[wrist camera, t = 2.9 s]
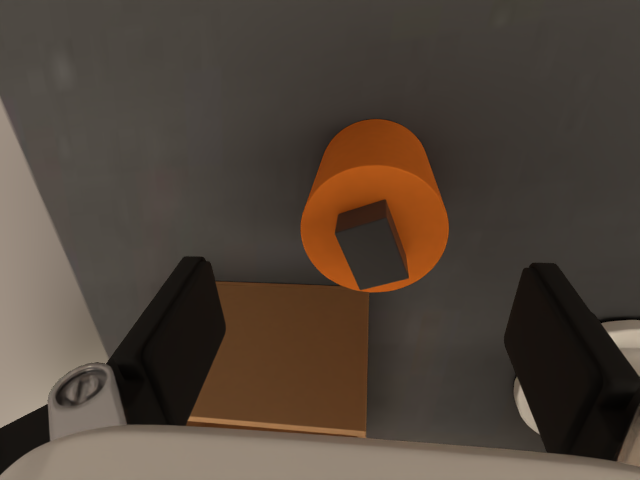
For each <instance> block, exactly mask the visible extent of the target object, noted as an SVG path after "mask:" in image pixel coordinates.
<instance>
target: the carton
mask: <svg viewBox="0 0 640 480" xmlns="http://www.w3.org/2000/svg"><path fill="white" fill-rule="evenodd" d="M215 283H216V287H217V291H218V295H219V299H220V303H221V307H222V311H223V315H224V319H225V323H226V332H225V335H224V338H223V340H222V342H221V345H220V347H219V349H218V352H217V354H216V356H215V359H214V361H213V363H212V366H211V368H210V370H209V373H208V375H207V377H206V380H205V382H204V384H203V387H202V389H201V391H200V394H199V396H198V398H197V401H196V403H195V405H194V408H193V410H192V412H191V415H190V417H189V419H188V422H187V424H186V426H195V427H214V428H229V429H243V430H258V431H273V432H288V433H302V434H316V435H330V436H344V437H358V438H366V414H367V367H368V320H369V292H363V291H357V290H353V289H350V288H347V287H344V286H329V285H302V284H275V283H248V282H221V281H215Z"/></svg>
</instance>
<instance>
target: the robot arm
mask: <svg viewBox="0 0 640 480" xmlns="http://www.w3.org/2000/svg"><path fill="white" fill-rule="evenodd" d="M225 332H226V323H225V319H224V315H223V311H222V307H221V303H220V299H219V295H218V291H217V287H216V283H215V278H214V274H213V270H212V266H211V263H210V262H208V261H206V260H205V259H204V257H187V256H186V257H184V258H183V259H182V260H181V261H180V263H179V264H178V265H177V267H176V268H175V269H174V271H173V272H172V274H171V275H170V276H169V278H168V279H167V281H166V282H165V283H164V285H163V286H162V287H161V289H160V290H159V292H158V293H157V294H156V296H155V297H154V299H153V300H152V301H151V302H150V304H149V305H148V307H147V308H146V309H145V311H144V312H143V313H142V315H141V316H140V318H139V319H138V320H137V322H136V323H135V325H134V326H133V327H132V329H131V330H130V331H129V333H128V334H127V336H126V337H125V338H124V340H123V341H122V342H121V344H120V345H119V347H118V348H117V349H116V351H115V352H114V354H113V355H112V356H111V358H110V359H109V360H108V362H107V363H106V364H105V363H98V362H96V363H89V364H86V365H83V366H79V367H77V368H75V369H74V370H72V371H70V372H68V373H67V374H66V375H64V376H63V377H62V378H60V379H59V381H58V382H57V383H56V384H55V385H54V386H53V388H52V389H51V391H50V393H49V397H48V404H47V405H45V406H43V407H41V408H39V409H37V410H35V411H33V412H31V413H29V414H27V415H25V416H23V417H21V418H20V419H17V420H16V421H14V422H12V423H10V424H8V425H6V426H4V427H2V428H0V480H640V320H622V321H610V322H604V323H600V321H599V320H598V319H597V317H596V316H595V315H594V314H593V313H592V312H590V310H589V309H588V307H587V306H586V305H585V303H584V302H583V300H582V299H581V298H580V296H579V295H578V293H577V292H576V291H575V289H574V288H573V286H572V285H571V284H570V282H569V281H568V280H567V278H566V277H565V275H564V274H563V273H562V271H561V270H560V268H559V267H558V266H557V265H556V264H554V263H532V264H531V265H530V266H529V268H524V269H523V271H522V275H521V278H520V282H519V285H518V289H517V292H516V296H515V299H514V303H513V306H512V310H511V314H510V317H509V321H508V324H507V328H506V331H505V335H504V343H505V348H506V350H507V353H508V355H509V358H510V360H511V363H512V365H513V368H514V370H515V373H516V375H517V377H516V379H515V382H514V391H513V394H514V398H515V403H516V405H517V408H518V410H519V413H520V415H521V417H522V419H523V420H524V421H525V422H526V424H527V425H528V426H529V427H530V428H532V429H533V430H534V431H535V432H537V433H538V434H540V436H541V438H542V441H543V443H544V446H545V448H546V451H547V453H544V452H534V451H523V450H512V449H501V448H488V447H475V446H463V445H450V444H437V443H424V442H412V441H398V440H385V439H371V438H358V437H344V436H330V435H316V434H302V433H288V432H273V431H258V430H243V429H229V428H214V427H195V426H186V424H187V422H188V419H189V417H190V415H191V412H192V410H193V408H194V405H195V403H196V401H197V398H198V396H199V394H200V391H201V389H202V387H203V384H204V382H205V380H206V377H207V375H208V373H209V370H210V368H211V366H212V363H213V361H214V359H215V356H216V354H217V352H218V349H219V347H220V345H221V342H222V340H223V338H224V335H225Z"/></svg>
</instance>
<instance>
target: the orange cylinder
mask: <svg viewBox="0 0 640 480" xmlns="http://www.w3.org/2000/svg"><path fill="white" fill-rule="evenodd" d="M448 233H449V222H448V217H447V212H446V209H445V206H444V204H443V201H442V198H441V195H440V192H439V189H438V187H437V184H436V181H435V178H434V175H433V172H432V170H431V167H430V164H429V161H428V158H427V155H426V153H425V150H424V148H423V146H422V144H421V142H420V141H419V140H418V138H417V137H416V136H415V135H414V134H413V133H412V132H411V131H409V130H408V129H407V128H405V127H404V126H402V125H400V124H398V123H395V122H392V121H388V120H382V119H369V120H363V121H360V122H356V123H354V124H352V125H350V126H348V127H346V128H344V129H343V130H341V131H340V132H339V133H338V134H337V135H336V136H335V137H334V138H333V139H332V140H331V142H330V143H329V145H328V146H327V148H326V150H325V152H324V155H323V158H322V161H321V163H320V166H319V169H318V172H317V175H316V177H315V180H314V183H313V186H312V189H311V191H310V194H309V197H308V200H307V203H306V205H305V208H304V211H303V214H302V219H301V238H302V242H303V246H304V248H305V251H306V253H307V255H308V257H309V258H310V260H311V262H312V263H313V264H314V266H315V267H316V268H317V269H318V270H319V271H320V272H321V273H322V274H323V275H325V276H326V277H327V278H329V279H330V280H332V281H334V282H335V283H337V284H339V285H341V286H344V287H347V288H350V289H353V290H357V291H363V292H386V291H392V290H396V289H400V288H403V287H405V286H408V285H410V284H412V283H414V282H416V281H417V280H419V279H421V278H422V277H423V276H425V275H426V274H427V273H428V272H429V271H430V270H431V269H432V268H433V267H434V266H435V265H436V263H437V262H438V261H439V259H440V257H441V256H442V254H443V252H444V249H445V247H446V244H447V240H448Z"/></svg>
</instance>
